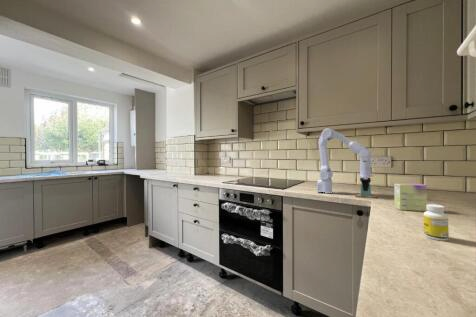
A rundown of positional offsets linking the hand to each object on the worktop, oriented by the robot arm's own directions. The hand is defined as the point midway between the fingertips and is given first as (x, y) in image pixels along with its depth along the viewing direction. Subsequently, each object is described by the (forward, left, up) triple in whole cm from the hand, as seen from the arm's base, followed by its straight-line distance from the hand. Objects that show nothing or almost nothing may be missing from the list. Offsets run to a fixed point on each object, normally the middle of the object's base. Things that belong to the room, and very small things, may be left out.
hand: (365, 189), depth 126 cm
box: (+17, -27, -4) cm, 32 cm away
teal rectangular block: (0, 0, -3) cm, 3 cm away
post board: (0, 0, -4) cm, 4 cm away
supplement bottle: (+17, -65, -4) cm, 67 cm away
